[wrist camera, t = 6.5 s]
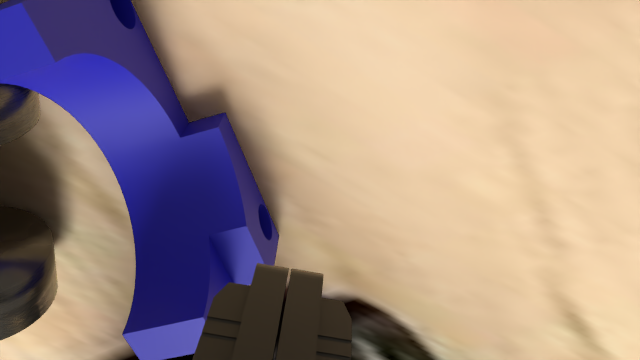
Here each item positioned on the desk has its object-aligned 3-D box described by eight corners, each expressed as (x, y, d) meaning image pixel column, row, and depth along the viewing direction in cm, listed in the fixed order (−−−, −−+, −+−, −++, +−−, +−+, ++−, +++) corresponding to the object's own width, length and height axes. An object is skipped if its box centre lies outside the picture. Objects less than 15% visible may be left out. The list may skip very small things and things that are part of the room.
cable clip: (279, 232, 23) (262, 339, 18) (185, 255, 24) (142, 363, 19) (155, -54, 17) (77, -17, 12) (36, -12, 18) (-84, 39, 13)
